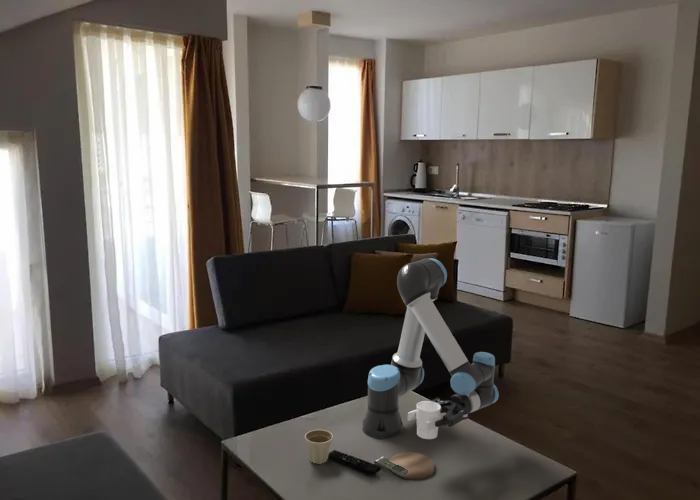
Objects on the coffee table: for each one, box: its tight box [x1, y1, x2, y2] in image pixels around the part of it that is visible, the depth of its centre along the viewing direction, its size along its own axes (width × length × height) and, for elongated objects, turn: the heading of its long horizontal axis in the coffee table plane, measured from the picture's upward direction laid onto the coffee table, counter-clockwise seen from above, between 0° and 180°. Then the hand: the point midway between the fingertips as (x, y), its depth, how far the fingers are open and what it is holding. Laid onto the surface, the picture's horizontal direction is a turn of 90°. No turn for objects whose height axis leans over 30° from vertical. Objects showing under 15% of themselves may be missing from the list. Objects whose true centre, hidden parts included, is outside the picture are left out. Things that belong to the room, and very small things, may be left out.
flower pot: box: [304, 429, 334, 465], centre depth 202 cm, size 9×9×9 cm
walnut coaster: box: [388, 451, 435, 480], centre depth 199 cm, size 15×15×1 cm
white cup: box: [415, 400, 442, 440], centre depth 196 cm, size 8×8×10 cm
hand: (417, 421), depth 193 cm, fingers closed on white cup, 8 cm apart
